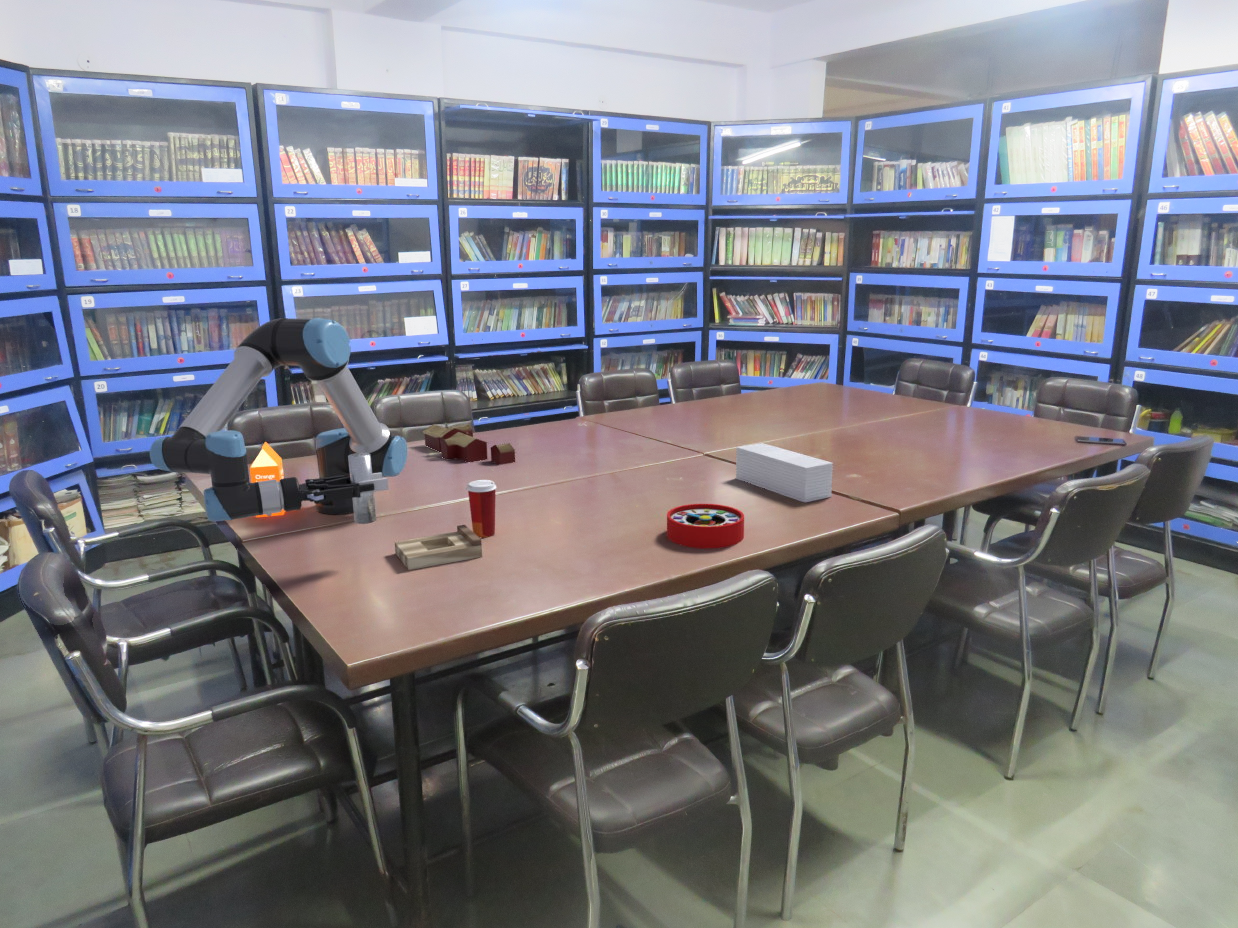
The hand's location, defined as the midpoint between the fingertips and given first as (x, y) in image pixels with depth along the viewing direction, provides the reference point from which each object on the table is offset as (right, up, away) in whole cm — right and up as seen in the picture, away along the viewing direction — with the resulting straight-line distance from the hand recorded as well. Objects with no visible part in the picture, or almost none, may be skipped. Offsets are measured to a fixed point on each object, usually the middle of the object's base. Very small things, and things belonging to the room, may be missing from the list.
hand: (384, 480), depth 198 cm
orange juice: (-45, -10, +43) cm, 63 cm away
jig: (+11, -18, +7) cm, 23 cm away
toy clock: (+78, -15, +19) cm, 82 cm away
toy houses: (0, +7, +110) cm, 110 cm away
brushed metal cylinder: (-5, -9, 0) cm, 10 cm away
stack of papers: (+107, -4, +62) cm, 124 cm away
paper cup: (+20, -15, +22) cm, 33 cm away
